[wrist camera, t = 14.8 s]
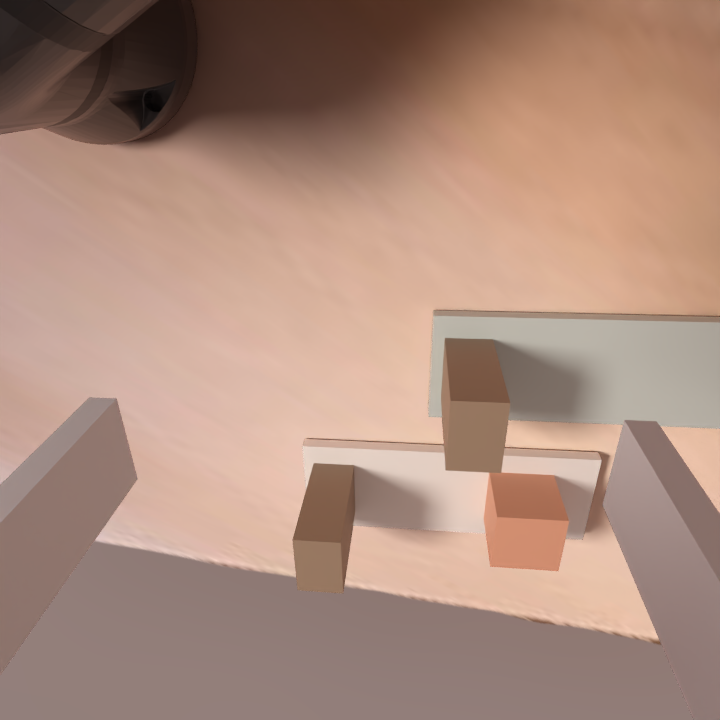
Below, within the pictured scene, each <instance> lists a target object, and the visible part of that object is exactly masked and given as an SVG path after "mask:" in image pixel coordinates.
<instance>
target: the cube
mask: <svg viewBox="0 0 720 720" xmlns="http://www.w3.org/2000/svg"><path fill="white" fill-rule="evenodd" d="M484 525H485V532H486V539H487V546H488V553H489V560H490V567H505V568H520V569H535V570H550V571H558V570H559V566H560V561H561V557H562V552H563V547H564V543H565V538H566V534H567V529H568V525H569V519H568V516H567V513H566V510H565V507H564V504H563V501H562V498H561V495H560V492H559V489H558V486H557V483H556V480H555V477H554V475H542V474H522V473H502V472H501V473H489V478H488V487H487V495H486V503H485V512H484Z"/></svg>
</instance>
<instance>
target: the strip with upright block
mask: <svg viewBox="0 0 720 720" xmlns="http://www.w3.org/2000/svg"><path fill="white" fill-rule="evenodd" d="M429 417H442V424H443V439H444V455H445V470H447V471H467V472H487V473H501V471H502V463H503V456H504V448H505V441H506V433H507V426H508V420H520V421H545V422H569V423H593V424H618V425H623V423H624V420H638V421H657V422H658V424H659V425H660V426H667V427H691V428H716V429H720V317H710V316H666V315H622V314H578V313H533V312H489V311H445V310H434V311H433V331H432V351H431V370H430V390H429Z"/></svg>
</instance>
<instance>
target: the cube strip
mask: <svg viewBox="0 0 720 720" xmlns="http://www.w3.org/2000/svg"><path fill="white" fill-rule="evenodd" d="M302 449H303V461H304V473H305V486H306V493H305V497H304V500H303V504H302V507H301V511H300V515H299V518H298V522H297V526H296V529H295V533H294V537H293V549H294V559H295V569H296V578H297V588H298V590H305V591H317V592H331V593H343V591H344V584H345V577H346V570H347V564H348V557H349V550H350V543H351V537H352V530H353V526H366V527H382V528H399V529H415V530H432V531H449V532H465V533H482V534H486V532H485V525H484V512H485V503H486V495H487V487H488V478H489V473H487V472H467V471H447V470H445V455H444V445H429V444H407V443H385V442H363V441H341V440H319V439H304V442H303V446H302ZM601 462H602V460H601V457H600V455H599V453H598V452H582V451H560V450H538V449H516V448H504V456H503V463H502V471H501V472H502V473H522V474H542V475H554V477H555V480H556V483H557V486H558V489H559V492H560V495H561V498H562V501H563V504H564V507H565V510H566V513H567V516H568V519H569V525H568V529H567V534H566V538H565V539H581V540H583V537H584V532H585V528H586V524H587V520H588V516H589V512H590V507H591V503H592V499H593V495H594V491H595V487H596V482H597V478H598V474H599V470H600V466H601Z"/></svg>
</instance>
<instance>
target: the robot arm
mask: <svg viewBox="0 0 720 720" xmlns="http://www.w3.org/2000/svg"><path fill="white" fill-rule="evenodd" d="M196 57H197V33H196V24H195V18H194V13H193V8H192V4H191V1H190V0H0V134H5V133H12V132H18V131H24V130H31V129H37V128H44V129H46V130H49V131H51V132H54V133H56V134H59V135H61V136H64V137H66V138H69V139H72V140H76V141H79V142H84V143H90V144H102V145H107V144H118V143H123V142H127V141H132V140H136V139H140V138H143V137H145V136H147V135H150V134H152V133H153V132H155V131H157V130H158V129H160V128H161V127H162V126H164V125H165V124H166V123H167V122H168V121H169V120H170V119H171V118H172V117H173V116H174V115H175V114H176V112H177V111H178V110H179V108H180V107H181V105H182V103H183V102H184V100H185V98H186V96H187V94H188V91H189V89H190V86H191V83H192V80H193V76H194V71H195V66H196ZM136 480H137V475H136V471H135V467H134V463H133V459H132V456H131V452H130V448H129V444H128V440H127V436H126V433H125V429H124V425H123V421H122V417H121V414H120V410H119V406H118V402H117V399H115V398H92V397H89V398H88V399H87V400H86V401H85V402H84V403H83V404H82V405H81V406H80V407H79V408H78V409H77V410H76V411H75V412H74V413H73V414H72V415H71V416H70V417H69V418H68V419H67V420H66V421H65V422H64V423H63V424H62V425H61V426H60V427H59V428H58V429H57V430H56V431H55V432H54V433H53V434H52V435H51V436H50V437H49V438H48V439H47V440H46V441H45V442H44V443H42V444H41V445H40V446H39V447H38V448H37V449H36V450H35V451H34V452H33V453H32V454H31V455H30V456H29V457H28V458H27V459H26V460H25V461H24V462H23V463H22V464H21V465H20V466H19V467H18V468H17V469H16V470H15V471H14V472H13V473H12V474H11V475H10V476H9V477H8V478H7V479H6V480H5V481H4V482H3V483H2V484H1V485H0V675H1V674H2V672H3V671H4V669H5V668H6V667H7V665H8V664H9V662H10V661H11V659H12V658H13V657H14V655H15V654H16V652H17V651H18V649H19V648H20V647H21V645H22V644H23V642H24V641H25V639H26V638H27V637H28V635H29V634H30V632H31V631H32V629H33V628H34V627H35V625H36V624H37V622H38V621H39V619H40V618H41V616H42V615H43V614H44V612H45V611H46V609H47V608H48V606H49V605H50V603H51V602H52V600H53V599H54V598H55V596H56V595H57V594H58V592H59V590H60V589H61V588H62V586H63V585H64V584H65V582H66V581H67V579H68V578H69V576H70V575H71V573H72V572H73V570H74V569H75V568H76V566H77V565H78V563H79V562H80V561H81V559H82V558H83V556H84V555H85V553H86V552H87V551H88V549H89V548H90V546H91V545H92V543H93V542H94V541H95V539H96V538H97V536H98V535H99V533H100V532H101V530H102V529H103V528H104V526H105V525H106V523H107V522H108V520H109V519H110V518H111V516H112V515H113V513H114V512H115V510H116V509H117V508H118V506H119V505H120V503H121V502H122V500H123V499H124V498H125V496H126V495H127V493H128V492H129V490H130V489H131V487H132V486H133V485H134V483H135V482H136ZM603 507H604V510H605V512H606V515H607V517H608V519H609V522H610V524H611V526H612V529H613V531H614V533H615V536H616V538H617V541H618V543H619V545H620V548H621V550H622V552H623V555H624V557H625V559H626V562H627V564H628V567H629V569H630V571H631V574H632V576H633V578H634V581H635V583H636V585H637V588H638V590H639V593H640V595H641V597H642V600H643V602H644V604H645V607H646V609H647V611H648V614H649V616H650V619H651V621H652V623H653V626H654V628H655V630H656V633H657V635H658V637H659V640H660V642H661V645H662V647H663V649H664V652H665V654H666V656H667V659H668V661H669V663H670V666H671V668H672V671H673V673H674V675H675V678H676V680H677V682H678V685H679V687H680V689H681V692H682V694H683V697H684V699H685V701H686V704H687V706H688V708H689V711H690V713H691V715H692V718H693V720H720V513H719V512H718V511H717V509H716V508H715V506H714V505H713V503H712V502H711V500H710V499H709V497H708V496H707V494H706V493H705V491H704V490H703V489H702V487H701V486H700V484H699V483H698V481H697V480H696V478H695V477H694V475H693V474H692V472H691V471H690V469H689V468H688V467H687V465H686V464H685V462H684V461H683V459H682V458H681V456H680V455H679V453H678V452H677V450H676V449H675V447H674V446H673V445H672V443H671V442H670V440H669V439H668V437H667V436H666V434H665V433H664V431H663V430H662V428H661V427H660V425H659V424H658V422H657V421H638V420H624V423H623V427H622V431H621V434H620V438H619V442H618V446H617V450H616V454H615V458H614V462H613V466H612V470H611V473H610V477H609V481H608V485H607V489H606V493H605V497H604V501H603Z"/></svg>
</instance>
